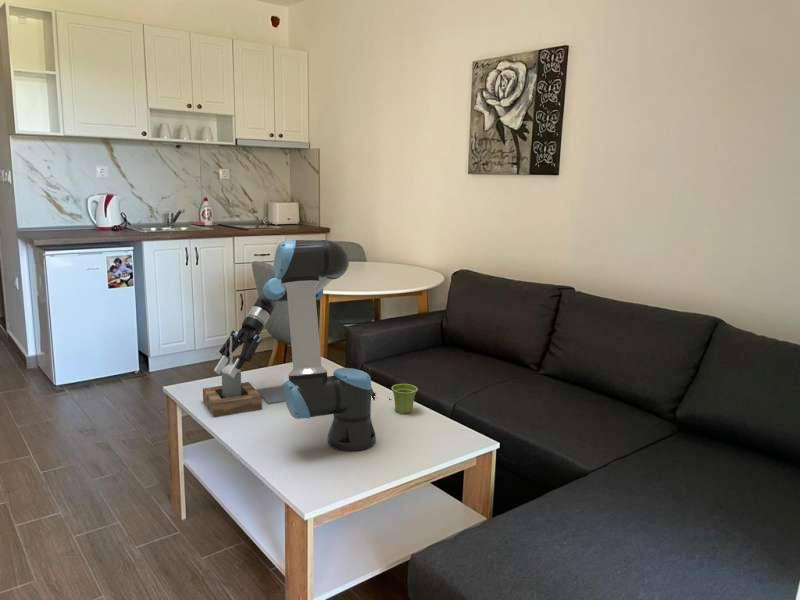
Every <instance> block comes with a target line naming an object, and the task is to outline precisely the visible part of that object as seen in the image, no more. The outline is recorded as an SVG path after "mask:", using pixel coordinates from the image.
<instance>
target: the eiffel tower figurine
mask: <svg viewBox="0 0 800 600" xmlns="http://www.w3.org/2000/svg"><path fill="white" fill-rule="evenodd" d="M368 375H369V376H370V377H371V368H370V365H369V367H368ZM374 392H375V391H374V389H373V388H372V389H371V396H372V398H373V400H372V401H376V400H375V397H374V396H376V395H375V393H376V392H375V393H374ZM388 398H389V397H388ZM389 400H390V401H392V400H393V399H392V398H389Z"/></svg>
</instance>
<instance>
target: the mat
mask: <svg viewBox="0 0 800 600" xmlns="http://www.w3.org/2000/svg"><path fill="white" fill-rule="evenodd" d="M283 386H284V384H283V385H277V386H271V387H264V388H259V389H257V388H255V389H256V390H257V391H258V393H259V394H260V395H261V396H262V399H263V400H264V401H265V403H267V404H268V405H275V404H279V403H286V402H285V397H284V387H283Z"/></svg>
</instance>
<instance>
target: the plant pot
mask: <svg viewBox="0 0 800 600" xmlns="http://www.w3.org/2000/svg"><path fill="white" fill-rule="evenodd" d="M391 390H392V394H393V399H394V411H395V412H396V413H397V412H398V413H399V414H404V415H405V414H409V413H412V412H413V407H414V403H415V396H416V394H417V392H418V387H417V386H415V385H413V384H409V383H397V384H393V385H392V386H391Z"/></svg>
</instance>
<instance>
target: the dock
mask: <svg viewBox="0 0 800 600" xmlns="http://www.w3.org/2000/svg"><path fill="white" fill-rule="evenodd" d="M256 389H257V388H255V387H254V386H253V385H252V384H251V382H249V381H246V382H241V393H242V394H243V395H242V396H236V397H229V398H222V399H221V395H222V385H217V386H208V387H202V401H204V402H203V403H204V405H205V404H206V405H205V407H206V408H207V407H208V408H207V409H208V411H209V410H210V411H209V412H210V414H211V415H213V416H212V417H213V418H217V417H223V416H230V415H235V414H240V413H248V412H253V411H259V410H263V401H262V399H263V398H262V396H261V395H260V394H259V393H258V391H257V390H256Z"/></svg>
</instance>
